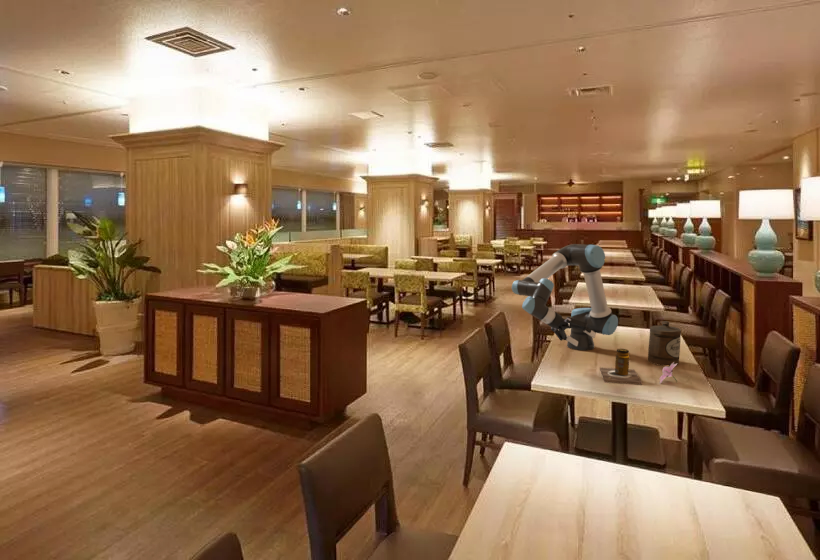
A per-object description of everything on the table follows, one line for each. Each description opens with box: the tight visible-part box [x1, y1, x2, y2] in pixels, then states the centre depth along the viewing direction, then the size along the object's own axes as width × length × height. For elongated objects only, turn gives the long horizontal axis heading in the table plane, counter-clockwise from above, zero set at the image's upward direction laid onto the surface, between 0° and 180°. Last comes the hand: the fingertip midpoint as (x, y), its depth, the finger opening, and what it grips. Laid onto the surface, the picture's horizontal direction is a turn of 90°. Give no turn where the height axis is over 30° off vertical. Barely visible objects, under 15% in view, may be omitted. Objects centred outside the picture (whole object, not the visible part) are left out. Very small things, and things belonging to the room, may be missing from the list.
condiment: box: [609, 348, 632, 378], centre depth 248 cm, size 7×8×12 cm
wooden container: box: [647, 320, 682, 367], centre depth 273 cm, size 15×15×22 cm
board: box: [599, 366, 643, 386], centre depth 249 cm, size 20×16×1 cm
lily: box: [658, 362, 678, 384], centre depth 241 cm, size 12×12×10 cm
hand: (586, 340), depth 258 cm, fingers open, 13 cm apart
